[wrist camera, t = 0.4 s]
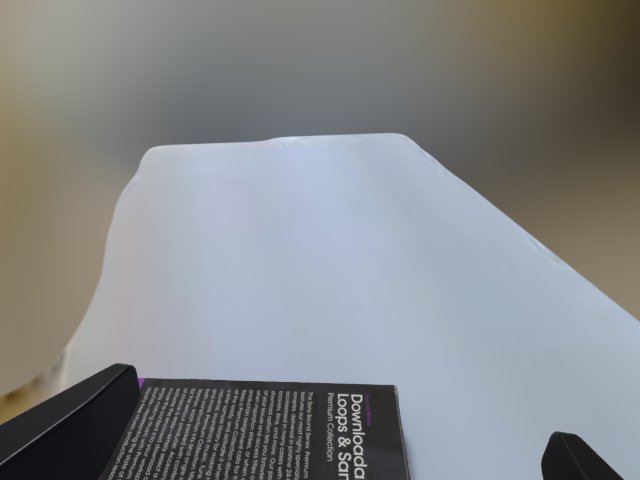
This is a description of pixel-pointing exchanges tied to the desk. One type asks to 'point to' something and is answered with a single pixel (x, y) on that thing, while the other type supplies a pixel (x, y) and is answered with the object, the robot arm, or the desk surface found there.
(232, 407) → the box
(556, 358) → the desk surface
